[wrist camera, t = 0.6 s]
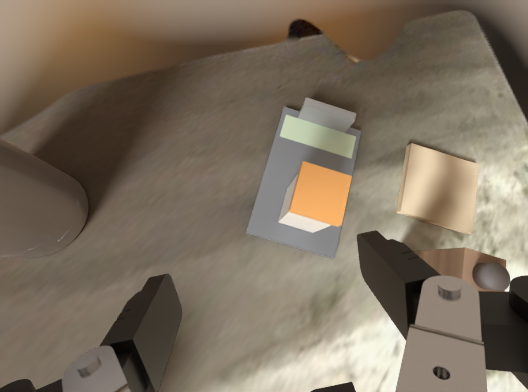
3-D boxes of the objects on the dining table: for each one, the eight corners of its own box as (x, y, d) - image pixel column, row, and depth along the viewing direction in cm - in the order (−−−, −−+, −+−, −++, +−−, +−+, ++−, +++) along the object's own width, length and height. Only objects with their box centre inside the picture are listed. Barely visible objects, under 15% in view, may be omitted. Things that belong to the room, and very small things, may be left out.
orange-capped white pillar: (275, 223, 30) (290, 209, 23) (285, 186, 31) (303, 160, 24) (314, 235, 30) (341, 225, 23) (323, 197, 32) (351, 176, 24)
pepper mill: (390, 284, 31) (473, 294, 20) (395, 252, 32) (477, 246, 21) (420, 293, 31) (518, 307, 21) (424, 261, 32) (520, 260, 21)
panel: (245, 233, 31) (247, 228, 27) (282, 110, 35) (288, 91, 31) (331, 258, 31) (345, 258, 27) (357, 134, 35) (373, 118, 31)
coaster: (395, 212, 33) (400, 211, 32) (406, 146, 36) (411, 143, 35) (466, 234, 34) (472, 233, 33) (472, 167, 36) (478, 164, 35)
